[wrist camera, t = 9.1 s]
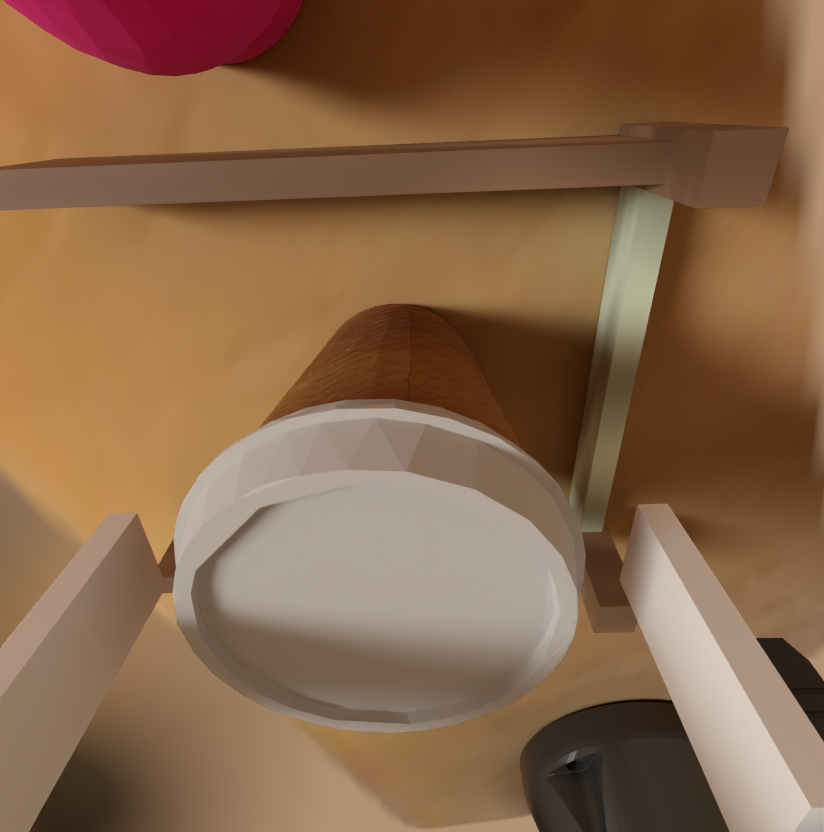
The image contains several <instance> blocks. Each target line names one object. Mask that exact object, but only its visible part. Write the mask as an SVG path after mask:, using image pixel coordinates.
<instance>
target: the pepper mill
mask: <svg viewBox="0 0 824 832" xmlns="http://www.w3.org/2000/svg"><path fill="white" fill-rule="evenodd" d="M4 1H5V2H6V3H7V4H9V5H10V6H11V7H13V8H14V9H15V10H17V11H18V12H20V13H21V14H22V15H24V16H25V17H27V18H28V19H29V20H31V21H32V22H33V23H35V24H36V25H38V26H39V27H40V28H42V29H43V30H45V31H47V32H48V33H50V34H52V35H53V36H55V37H56V38H58V39H60V40H61V41H63V42H65V43H66V44H68V45H70V46H71V47H73V48H74V49H76V50H79V51H81V52H84V53H86V54H89V55H91V56H94V57H96V58H99V59H101V60H104V61H106V62H109V63H112V64H115V65H117V66H120V67H123V68H126V69H130V70H134V71H138V72H142V73H146V74H150V75H165V76H179V75H187V74H194V73H199V72H203V71H206V70H209V69H212V68H214V67H217V66H219V65H221V64H232V63H239V62H243V61H246V60H249V59H251V58H254V57H256V56H258V55H260V54H261V53H263V52H265V51H266V50H268V49H269V48H270V47H272V46H273V45H274V44H276V43H277V41H278V40H279V39H280V38H281V37H282V36H283V35H284V34H285V33H286V32H287V30H288V29H289V27H290V26H291V24H292V23H293V22H294V20H295V18H296V16H297V14H298V12H299V10H300V8H301V6H302V3H303V1H304V0H4Z"/></svg>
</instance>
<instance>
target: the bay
mask: <svg viewBox="0 0 824 832" xmlns="http://www.w3.org/2000/svg"><path fill="white" fill-rule="evenodd" d="M788 129H789V128H780V127H759V126H739V125H719V124H699V123H679V122H664V123H641V124H621V130H620V135H608V136H584V137H561V138H537V139H514V140H490V141H467V142H443V143H420V144H396V145H373V146H349V147H326V148H303V149H279V150H256V151H232V152H209V153H185V154H162V155H138V156H115V157H91V158H68V159H54V160H47V161H39V162H32V163H25V164H17V165H10V166H3V167H0V210H21V209H46V208H72V207H97V206H122V205H148V204H173V203H199V202H224V201H250V200H275V199H300V198H326V197H351V196H377V195H402V194H428V193H453V192H478V191H504V190H529V189H555V188H580V187H606V186H620V193H619V199H618V205H617V211H616V217H615V223H614V229H613V235H612V241H611V247H610V254H609V260H608V266H607V272H606V278H605V284H604V290H603V296H602V302H601V309H600V315H599V321H598V327H597V333H596V339H595V345H594V351H593V357H592V363H591V370H590V376H589V382H588V388H587V394H586V400H585V406H584V412H583V418H582V424H581V431H580V437H579V443H578V449H577V455H576V461H575V467H574V473H573V479H572V486H571V492H570V498H569V504H570V506H571V508H572V510H573V512H574V514H575V515H576V517H577V519H578V521H579V523H580V525H581V530H582V535H583V541H584V547H585V553H586V559H585V571H584V581H583V584H582V587H581V589H580V593H581V596H582V599H583V602H584V605H585V608H586V611H587V614H588V617H589V620H590V623H591V626H592V629H593V632H594V633H608V632H634V631H635V627H636V624H637V619H636V617H635V614H634V612H633V610H632V607H631V605H630V603H629V601H628V598H627V596H626V594H625V591H624V589H623V587H622V585H621V582H620V580H619V579H620V575H621V571H622V567H623V562H622V560H621V558H620V556H619V554H618V551H617V549H616V547H615V545H614V542H613V540H612V538H611V536H610V533H609V531H608V529H607V527H606V524H605V522H604V520H605V516H606V511H607V507H608V502H609V498H610V493H611V488H612V484H613V479H614V475H615V470H616V465H617V461H618V456H619V452H620V447H621V442H622V438H623V433H624V429H625V424H626V420H627V415H628V410H629V406H630V401H631V397H632V392H633V387H634V383H635V378H636V374H637V369H638V365H639V360H640V355H641V351H642V346H643V342H644V337H645V332H646V328H647V323H648V319H649V314H650V309H651V305H652V300H653V296H654V291H655V287H656V282H657V277H658V273H659V268H660V264H661V259H662V254H663V250H664V245H665V241H666V236H667V232H668V227H669V222H670V218H671V213H672V209H673V204H674V201H676V202H678V203H681V204H684V205H687V206H689V207H692V208H695V209H704V208H730V207H757V206H765V204H766V201H767V198H768V195H769V191H770V188H771V185H772V182H773V178H774V175H775V172H776V169H777V165H778V162H779V159H780V156H781V152H782V149H783V146H784V142H785V139H786V136H787V133H788ZM158 566H159V569H160V571H161V574H162V576H163V579H164V581H165V584H166V587H165V589H164V591H163V592H162V593H173V585H174V576H175V571H176V563H175V551H174V539H173V541H172V542H171V544H170V546H169V548H168V549H167V551H166V553H165V554H164V556H163V558H162V560H161V561H160V563H159V565H158Z"/></svg>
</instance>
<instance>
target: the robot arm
mask: <svg viewBox="0 0 824 832" xmlns="http://www.w3.org/2000/svg"><path fill="white" fill-rule="evenodd" d="M619 580H620V582H621V585H622V587H623V589H624V591H625V594H626V596H627V598H628V601H629V603H630V605H631V607H632V610H633V612H634V614H635V617H636V619H637V621H638V623H639V626H640V628H641V630H642V633H643V635H644V637H645V639H646V642H647V644H648V646H649V649H650V651H651V653H652V655H653V658H654V660H655V662H656V665H657V667H658V669H659V671H660V674H661V676H662V678H663V681H664V683H665V685H666V687H667V690H668V692H669V694H670V697H671V699H672V701H673V703H674V704H671V703H662V702H628V703H618V704H611V705H605V706H600V707H596V708H591V709H588V710H584V711H581V712H578V713H575V714H572V715H569V716H567V717H565V718H562V719H560V720H558V721H556V722H554V723H552V724H550V725H549V726H547V727H545V728H544V729H542V730H541V731H540V732H538V733H537V734H536V735H535V736H534V737H533V738H532V739H531V740H530V741H529V742H528V743H527V745H526V746H525V748H524V749H523V751H522V754H521V758H520V768H521V774H522V781H523V787H524V794H525V798H526V801H527V804H528V807H529V809H530V811H531V814H532V816H533V818H534V821H535V823H536V825H537V828H538V830H539V832H824V681H823V679H822V678H821V676H820V675H819V674H818V672H817V671H816V670H815V668H814V667H813V666H812V664H811V663H810V661H809V660H807V659H806V658H805V657H804V656H803V655H802V654H800V653H799V652H798V651H797V650H796V649H794V648H793V647H792V646H791V645H790V644H789V643H787V642H786V641H785V640H784V639H783V638H755V636H754V635H753V633H752V632H751V630H750V629H749V627H748V626H747V624H746V623H745V621H744V620H743V618H742V616H741V615H740V613H739V612H738V610H737V609H736V607H735V606H734V604H733V603H732V601H731V600H730V598H729V597H728V595H727V594H726V592H725V591H724V589H723V587H722V586H721V584H720V583H719V581H718V580H717V578H716V577H715V575H714V574H713V572H712V571H711V569H710V568H709V566H708V565H707V563H706V562H705V560H704V558H703V557H702V555H701V554H700V552H699V551H698V549H697V548H696V546H695V545H694V543H693V542H692V540H691V539H690V537H689V536H688V534H687V533H686V531H685V529H684V528H683V526H682V525H681V523H680V522H679V520H678V519H677V517H676V516H675V514H674V513H673V511H672V510H671V508H670V507H669V505H668V504H637V508H636V512H635V516H634V521H633V525H632V529H631V533H630V537H629V542H628V546H627V550H626V554H625V558H624V562H623V567H622V571H621V575H620V579H619ZM165 587H166V584H165V581H164V579H163V576H162V574H161V571H160V569H159V566H158V564H157V561H156V559H155V556H154V554H153V551H152V549H151V546H150V544H149V541H148V539H147V537H146V534H145V532H144V529H143V527H142V524H141V522H140V519H139V517H138V514H137V513H125V514H108V516H107V517H106V518H105V519H104V520H103V522H102V523H101V524H100V525H99V527H98V528H97V529H96V530H95V532H94V533H93V534H92V535H91V536H90V538H89V539H88V540H87V541H86V543H85V544H84V545H83V546H82V548H81V549H80V550H79V551H78V552H77V554H76V555H75V556H74V557H73V559H72V560H71V561H70V563H69V564H68V565H67V566H66V567H65V569H64V570H63V571H62V572H61V573H60V575H59V576H58V577H57V578H56V580H55V581H54V582H53V583H52V585H51V586H50V587H49V588H48V590H47V591H46V592H45V593H44V594H43V596H42V597H41V598H40V599H39V600H38V602H37V603H36V604H35V606H34V607H33V608H32V609H31V610H30V612H29V613H28V614H27V615H26V617H25V618H24V619H23V620H22V622H21V623H20V624H19V625H18V627H17V628H16V629H15V630H14V631H13V633H12V634H11V635H10V636H9V637H8V639H7V640H6V641H5V642H4V644H3V645H2V646H0V832H29V830H30V828H31V827H32V825H33V823H34V821H35V820H36V818H37V816H38V814H39V812H40V810H41V809H42V807H43V805H44V803H45V802H46V799H47V798H48V796H49V794H50V793H51V791H52V789H53V787H54V785H55V784H56V782H57V780H58V778H59V776H60V775H61V773H62V771H63V769H64V768H65V766H66V764H67V762H68V761H69V759H70V757H71V755H72V753H73V752H74V750H75V748H76V746H77V744H78V743H79V741H80V739H81V737H82V735H83V734H84V732H85V730H86V728H87V726H88V724H89V723H90V721H91V719H92V718H93V716H94V714H95V712H96V710H97V709H98V707H99V705H100V703H101V701H102V699H103V698H104V696H105V694H106V692H107V691H108V689H109V687H110V685H111V684H112V681H113V680H114V678H115V676H116V675H117V673H118V671H119V669H120V667H121V666H122V664H123V662H124V660H125V659H126V657H127V655H128V653H129V651H130V650H131V648H132V646H133V644H134V642H135V641H136V639H137V637H138V635H139V633H140V632H141V630H142V628H143V626H144V625H145V623H146V621H147V619H148V617H149V616H150V614H151V612H152V610H153V609H154V607H155V605H156V603H157V601H158V600H159V598H160V596H161V594H162V592H163V591H164V589H165Z"/></svg>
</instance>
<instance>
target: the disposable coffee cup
mask: <svg viewBox="0 0 824 832" xmlns="http://www.w3.org/2000/svg"><path fill="white" fill-rule="evenodd" d="M174 551H175V563H176V571H175V576H174V585H173V600H174V606H175V612H176V618H177V624H178V625H179V627H180V629H181V631H182V632H183V634H184V636H185V637H186V640H187V641H188V643H189V644H190V647H191V648H192V650H193V652H194V653H195V654H196V655H197V656H198V658H200V660H201V661H202V662H203V663H204V664H205V665H206V666H207V667H208V669H209V670H210V671H211V672H212V673H213V674H214V675H216V676H217V677H218V678H220V679H221V680H222V681H224V682H225V683H227V684H228V685H229V686H231V687H232V688H233V689H235V690H236V691H237V692H239V693H241V694H242V695H244V696H246V697H248V698H249V699H251V700H253V701H255V702H257V703H259V704H260V705H262V706H264V707H266V708H269V709H271V710H274V711H276V712H279V713H281V714H284V715H287V716H291V717H294V718H297V719H300V720H303V721H307V722H310V723H313V724H318V725H323V726H328V727H333V728H338V729H344V730H354V731H365V732H409V731H423V730H428V729H434V728H440V727H446V726H451V725H455V724H458V723H461V722H464V721H467V720H470V719H473V718H476V717H479V716H482V715H485V714H488V713H491V712H494V711H497V710H500V709H502V708H504V707H505V706H507V705H509V704H511V703H513V702H514V701H516V700H518V699H520V698H521V697H523V696H524V695H526V694H527V693H529V692H530V691H531V690H533V689H534V688H535V687H537V686H538V685H539V684H541V683H542V682H543V681H544V680H545V679H546V678H547V677H548V676H549V674H550V673H551V672H552V671H553V669H554V668H555V667H556V666H557V664H558V663H559V662H560V661H561V660H562V658H563V657H564V656H565V654H566V652H567V650H568V647H569V645H570V643H571V641H572V639H573V637H574V633H575V629H576V624H577V620H578V599H577V598H578V595H579V592H580V589H581V587H582V584H583V581H584V571H585V559H586V553H585V547H584V541H583V535H582V530H581V525H580V523H579V521H578V519H577V517H576V515H575V514H574V512H573V510H572V508H571V506H570V504H569V502H568V501H567V499H566V497H565V495H564V493H563V491H562V489H561V487H560V486H559V485H558V483H557V482H556V481H555V480H554V479H553V478H552V477H551V476H550V475H549V474H548V472H547V471H546V470H545V469H544V468H543V467H542V466H541V465H540V464H539V463H538V462H537V461H536V460H535V459H534V458H532V457H531V456H530V455H528V454H527V453H526V452H524V451H523V449H522V448H521V447H520V445H519V441H518V439H517V438H516V437H515V435H514V434H513V430H512V428H511V427H510V425H509V424H508V422H507V420H506V418H505V416H504V414H503V413H502V409H501V408H500V406H499V405H498V403H497V401H496V399H495V398H494V396H493V393H492V392H491V390H490V388H489V387H488V383H487V382H486V381H485V379H484V377H483V375H482V374H481V372H480V369H479V368H478V366H477V364H476V362H475V361H474V358H473V357H472V355H471V353H470V351H469V349H468V347H467V344H466V343H465V341H464V340H463V339H462V337H461V336H460V334H459V333H458V331H457V330H456V329H455V328H454V327H453V326H452V325H450V324H449V323H448V322H447V321H446V320H445V319H443V318H442V317H440V316H439V315H437V314H435V313H433V312H431V311H428V310H426V309H424V308H421V307H417V306H413V305H410V304H387V305H381V306H375V307H372V308H370V309H367V310H365V311H362V312H359V313H358V314H357V315H355V316H354V317H352V318H351V319H349V320H348V321H346V322H345V323H344V324H343V325H342V326H341V327H340V328H339V329H338V330H337V331H336V333H335V334H334V336H333V337H332V338H331V339H330V341H329V342H328V343H327V344H326V346H325V347H324V348H323V349H322V350H321V352H320V353H319V354H318V355H317V357H316V358H315V359H314V360H313V362H312V363H311V364H310V365H309V366H308V367H307V369H306V370H305V372H304V373H303V374H302V375H301V377H300V378H299V379H298V380H297V381H296V383H295V384H294V385H293V387H292V388H291V389H290V390H289V391H288V392H287V394H286V395H285V396H284V398H283V399H282V400H281V401H280V402H279V404H278V405H277V406H276V408H275V409H274V410H273V412H272V413H271V414H270V415H269V416H268V417H267V419H266V420H265V421H264V422H263V424H262V425H261V426H260V427H259V429H257V430H255V431H253V432H252V433H250V434H248V435H247V436H245V437H243V438H241V439H240V440H238V441H236V442H235V443H233V444H231V445H229V446H228V447H227V448H226V449H225V450H224V451H223V452H222V453H221V454H220V455H219V456H218V457H217V458H216V459H215V460H214V461H212V462H211V463H210V464H209V465H208V466H207V467H206V468H205V469H204V470H203V472H202V473H201V474H200V475H199V477H198V478H197V480H196V481H195V483H194V485H193V486H192V488H191V489H190V491H189V492H188V494H187V496H186V497H185V499H184V500H183V503H182V506H181V509H180V511H179V514H178V517H177V520H176V527H175V535H174Z"/></svg>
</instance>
